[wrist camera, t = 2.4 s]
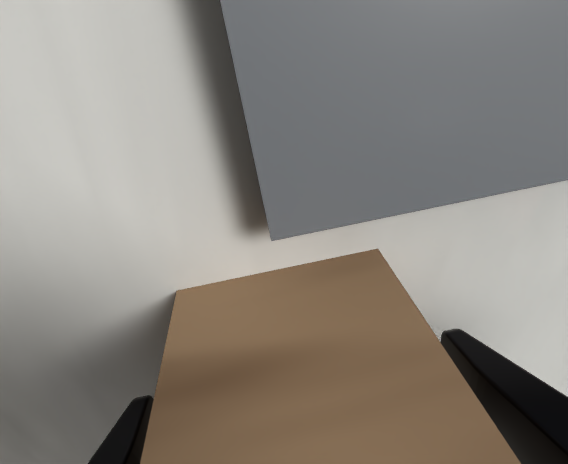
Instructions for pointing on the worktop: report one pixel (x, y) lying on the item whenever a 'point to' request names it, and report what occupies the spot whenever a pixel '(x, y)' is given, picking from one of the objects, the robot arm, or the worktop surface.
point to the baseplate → (398, 103)
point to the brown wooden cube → (313, 375)
